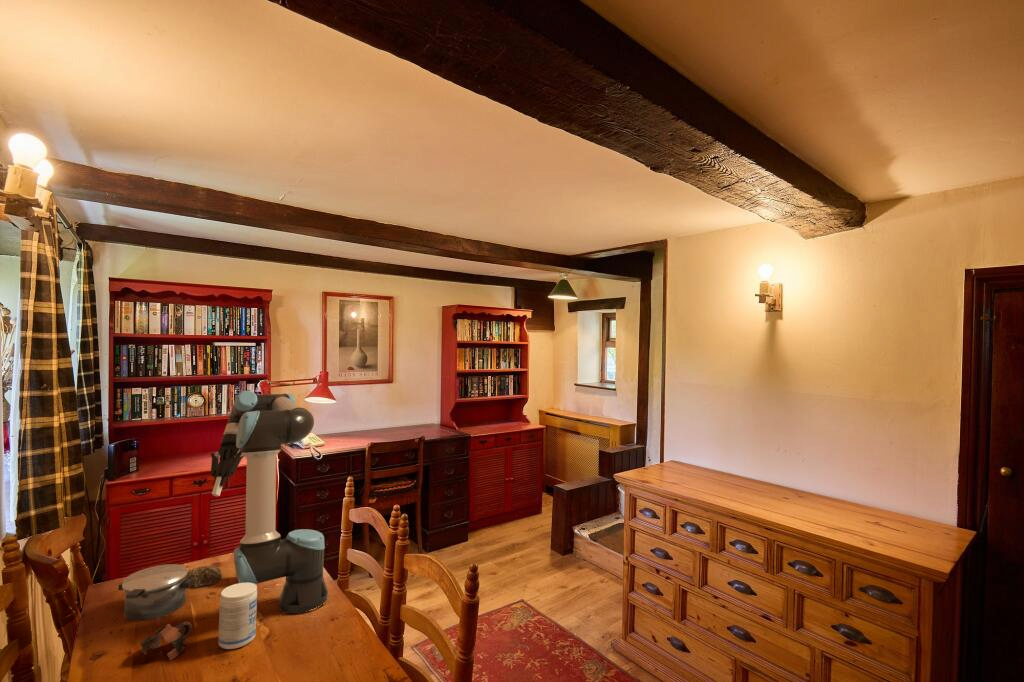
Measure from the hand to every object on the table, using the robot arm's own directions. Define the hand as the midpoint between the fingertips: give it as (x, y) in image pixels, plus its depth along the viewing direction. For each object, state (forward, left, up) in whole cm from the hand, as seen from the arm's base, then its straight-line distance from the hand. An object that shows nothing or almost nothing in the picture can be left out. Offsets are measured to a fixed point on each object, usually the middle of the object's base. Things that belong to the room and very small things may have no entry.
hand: (215, 494), depth 178 cm
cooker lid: (-15, +19, -21) cm, 32 cm away
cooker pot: (-13, +18, -30) cm, 37 cm away
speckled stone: (-1, +3, -31) cm, 31 cm away
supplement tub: (-49, +2, -30) cm, 57 cm away
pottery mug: (-43, +18, -30) cm, 55 cm away
